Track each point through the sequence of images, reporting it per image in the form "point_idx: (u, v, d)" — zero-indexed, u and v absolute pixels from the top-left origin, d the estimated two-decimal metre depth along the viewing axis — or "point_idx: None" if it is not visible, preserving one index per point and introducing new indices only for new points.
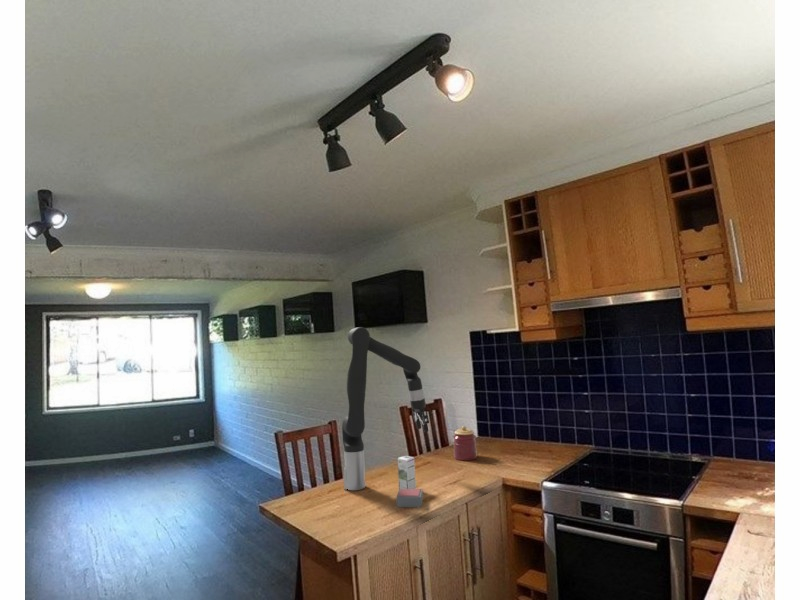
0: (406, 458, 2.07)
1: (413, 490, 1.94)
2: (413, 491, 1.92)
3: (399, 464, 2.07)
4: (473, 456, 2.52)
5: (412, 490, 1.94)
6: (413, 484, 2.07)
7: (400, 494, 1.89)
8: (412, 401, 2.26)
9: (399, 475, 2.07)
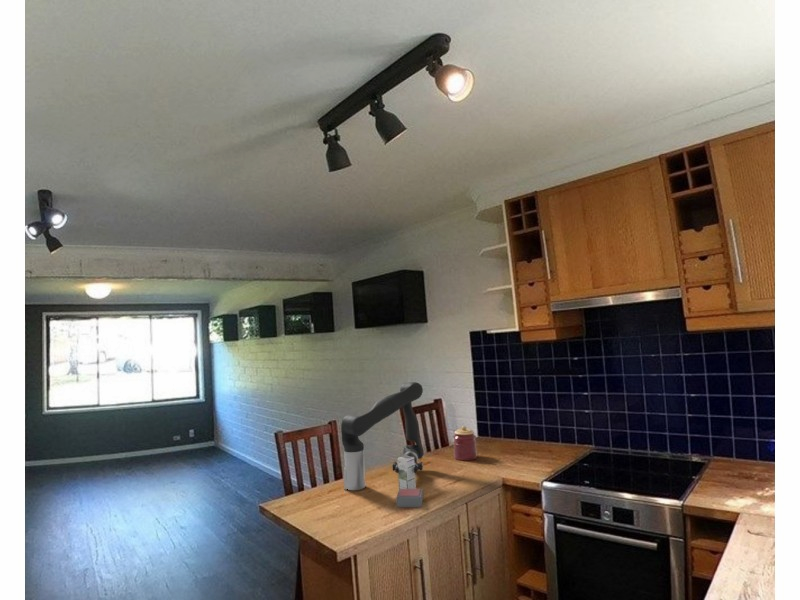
0: (406, 458, 2.07)
1: (413, 490, 1.94)
2: (413, 491, 1.92)
3: (399, 464, 2.07)
4: (473, 456, 2.52)
5: (412, 490, 1.94)
6: (413, 484, 2.07)
7: (400, 494, 1.89)
8: (412, 454, 2.22)
9: (399, 475, 2.07)
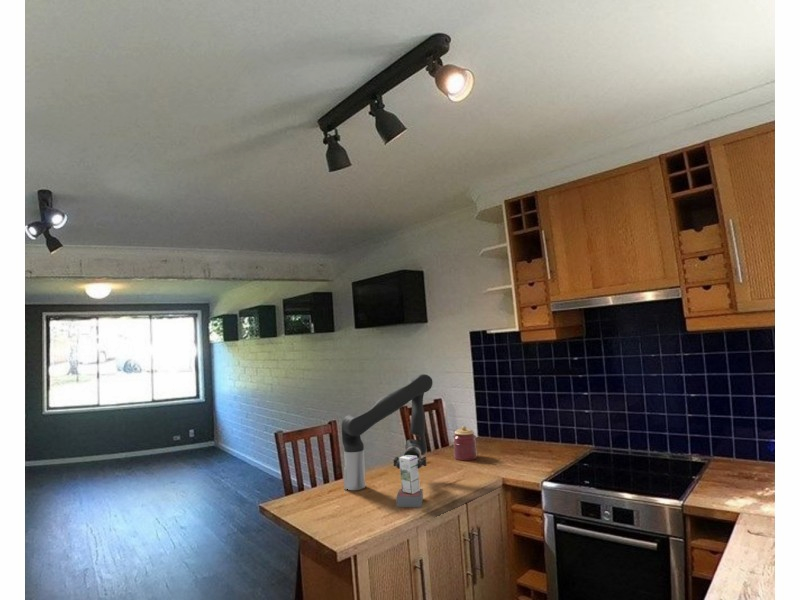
0: (408, 457, 1.92)
1: None
2: None
3: (401, 464, 1.92)
4: (473, 456, 2.52)
5: None
6: (417, 485, 1.91)
7: (400, 494, 1.89)
8: (415, 448, 2.08)
9: (402, 476, 1.92)
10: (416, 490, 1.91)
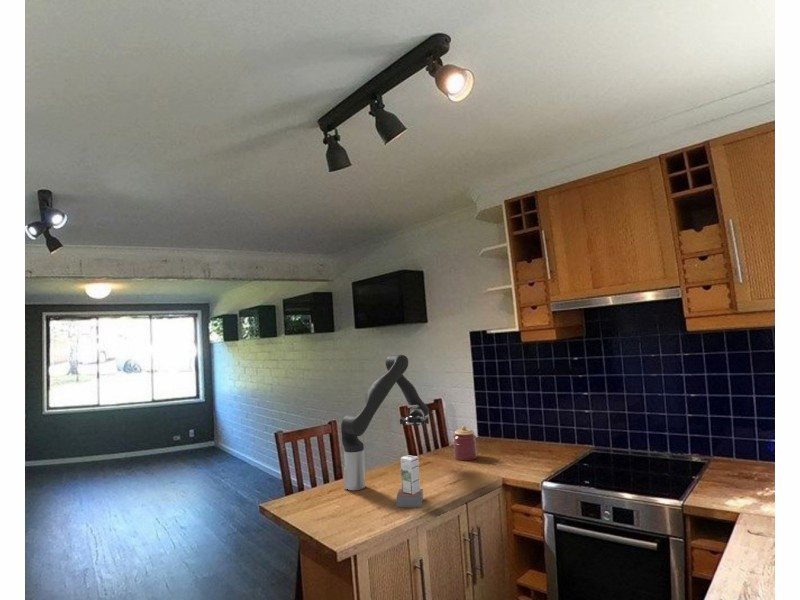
0: (410, 458, 1.91)
1: None
2: None
3: (402, 464, 1.92)
4: (473, 456, 2.52)
5: None
6: (417, 486, 1.91)
7: (400, 494, 1.89)
8: (418, 410, 2.34)
9: (402, 476, 1.92)
10: (416, 491, 1.91)
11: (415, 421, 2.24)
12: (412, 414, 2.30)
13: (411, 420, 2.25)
